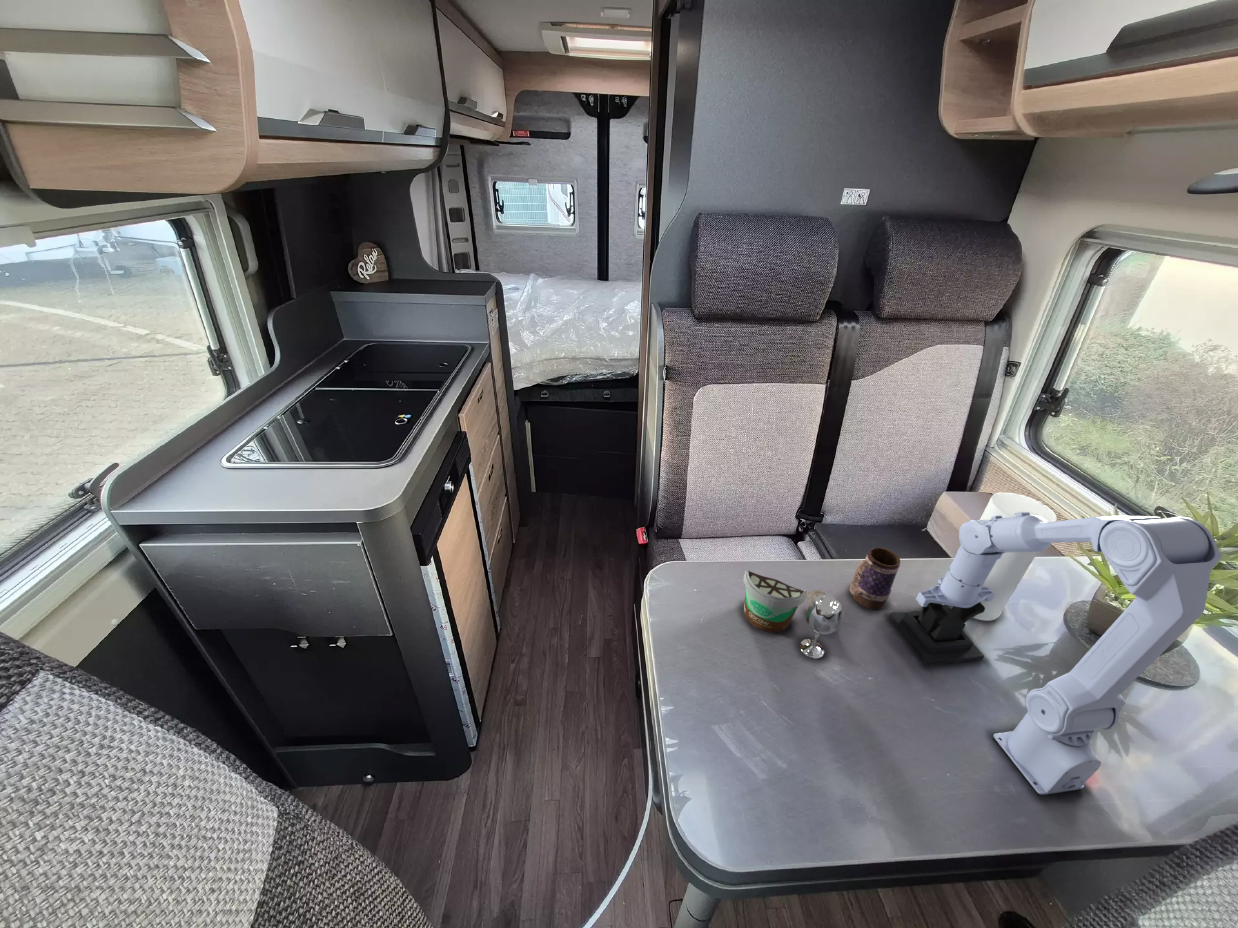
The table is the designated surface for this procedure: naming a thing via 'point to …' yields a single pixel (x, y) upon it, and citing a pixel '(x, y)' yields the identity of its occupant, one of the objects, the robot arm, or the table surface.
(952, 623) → the black block
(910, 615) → the base pad
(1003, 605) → the tall pillar cylinder
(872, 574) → the mug
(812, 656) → the wineglass
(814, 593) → the toy character
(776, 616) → the food container
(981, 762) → the table surface
